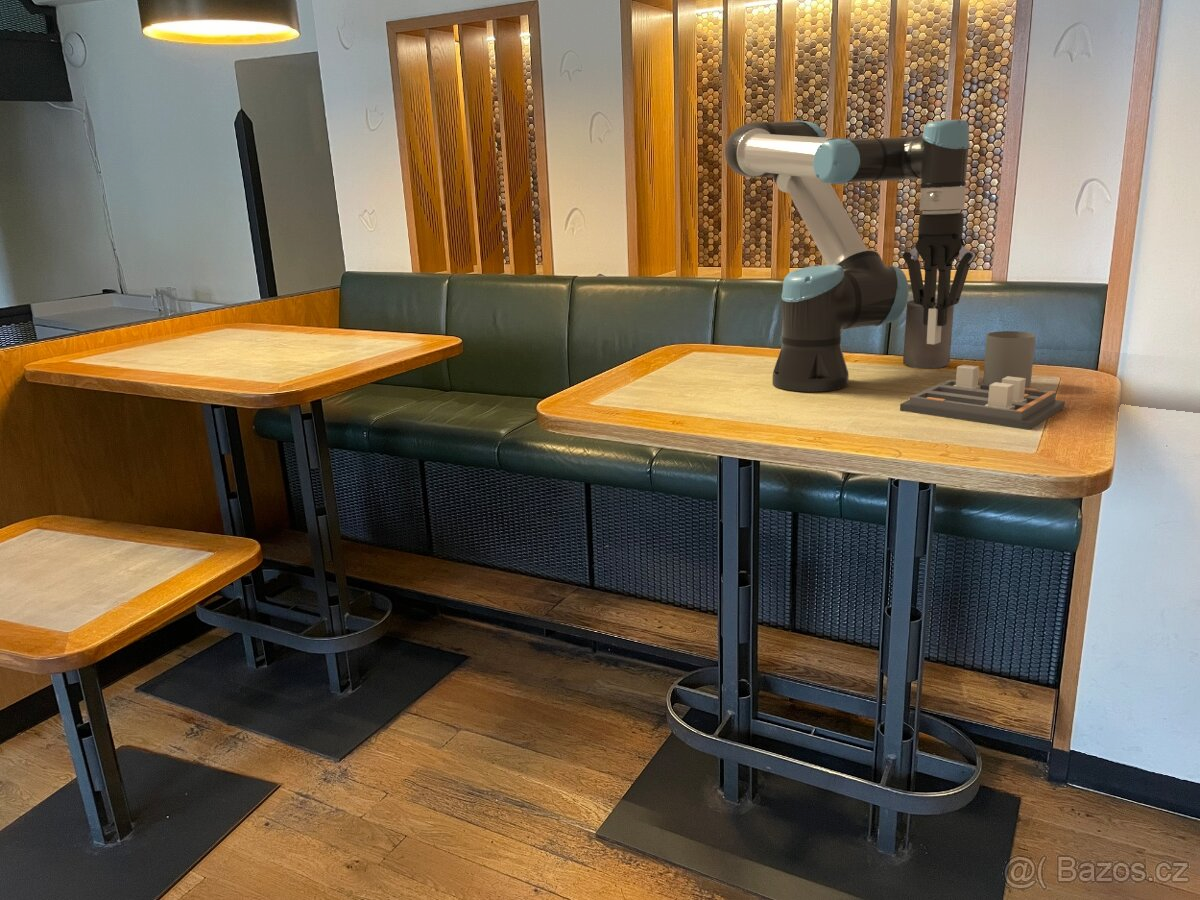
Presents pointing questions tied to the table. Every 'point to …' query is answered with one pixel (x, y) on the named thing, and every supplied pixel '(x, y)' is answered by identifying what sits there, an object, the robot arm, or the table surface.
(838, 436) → the table surface
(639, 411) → the table surface
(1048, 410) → the slotted block puzzle
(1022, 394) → the tab mid
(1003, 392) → the tab front
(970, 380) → the tab back
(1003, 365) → the cup
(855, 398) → the table surface
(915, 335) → the pillar candle
